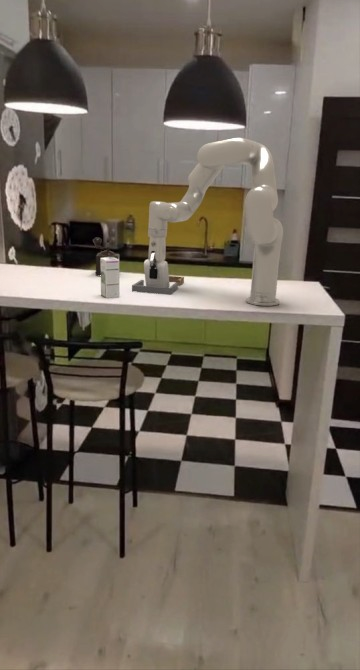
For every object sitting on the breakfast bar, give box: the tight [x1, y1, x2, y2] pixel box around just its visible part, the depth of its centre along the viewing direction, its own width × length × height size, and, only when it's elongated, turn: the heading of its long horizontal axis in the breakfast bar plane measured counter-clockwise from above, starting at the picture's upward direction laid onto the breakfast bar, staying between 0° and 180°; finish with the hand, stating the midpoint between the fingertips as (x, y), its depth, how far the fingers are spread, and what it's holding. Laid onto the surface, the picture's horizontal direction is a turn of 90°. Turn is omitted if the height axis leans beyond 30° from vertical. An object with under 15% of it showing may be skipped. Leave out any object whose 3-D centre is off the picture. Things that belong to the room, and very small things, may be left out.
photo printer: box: [143, 258, 170, 288], centre depth 209 cm, size 10×4×12 cm, turn 73°
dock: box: [169, 275, 185, 287], centre depth 224 cm, size 9×15×2 cm, turn 78°
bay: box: [131, 279, 179, 295], centre depth 208 cm, size 14×16×2 cm
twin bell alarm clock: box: [92, 236, 120, 276], centre depth 234 cm, size 16×11×18 cm
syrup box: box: [100, 257, 120, 299], centre depth 191 cm, size 6×6×14 cm
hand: (155, 276), depth 210 cm, fingers closed on photo printer, 5 cm apart
